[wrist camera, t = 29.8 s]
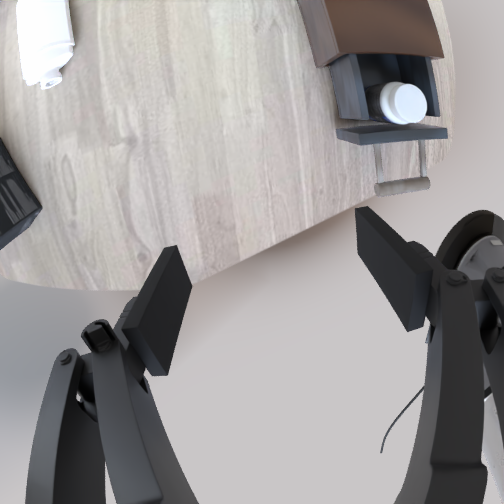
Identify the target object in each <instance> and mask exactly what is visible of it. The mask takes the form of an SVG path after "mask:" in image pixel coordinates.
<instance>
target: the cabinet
mask: <svg viewBox="0 0 504 504" xmlns="http://www.w3.org/2000/svg"><path fill="white" fill-rule="evenodd" d="M297 2H298V5H299V8H300V11H301V14H302V18H303V21H304V24H305V28H306V31H307V35H308V38H309V42H310V45H311V49H312V53H313V57H314V61H315V65H316V68H323V67H329V63H330V62H332V61H333V60H335V59H337V58H338V57H340V56H342V55H344V54H399V55H413V56H423V57H430V59H431V60H436V59H441V58H444V54H443V50H442V46H441V42H440V39H439V35H438V32H437V28H436V25H435V22H434V19H433V16H432V13H431V10H430V7H429V4H428V1H427V0H297Z"/></svg>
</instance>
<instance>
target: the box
mask: <svg viewBox="0 0 504 504" xmlns="http://www.w3.org/2000/svg"><path fill="white" fill-rule="evenodd" d="M41 210H42V206H41V205H40V204H39V202H38V201H37V199H36V198H35V196H34V195H33V193H32V192H31V190H30V189H29V187H28V186H27V184H26V182H25V181H24V179H23V178H22V176H21V174H20V173H19V171H18V169H17V168H16V166H15V164H14V163H13V161H12V159H11V157H10V156H9V154H8V152H7V150H6V148H5V146H4V145H3V143H2V141H1V139H0V250H1V249H2V248H4V247H5V246H6V245H7V244H8V243H10V242H11V241H12V240H13V239H15V238H16V237H17V236H18V235H20V234H21V233H22V232H23V231H25V230H26V229H27V228H29V227H30V225H31V224H32V222H33V221H34V219H35V218H36V217H37V215H38V214H39V213H40V211H41Z"/></svg>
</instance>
